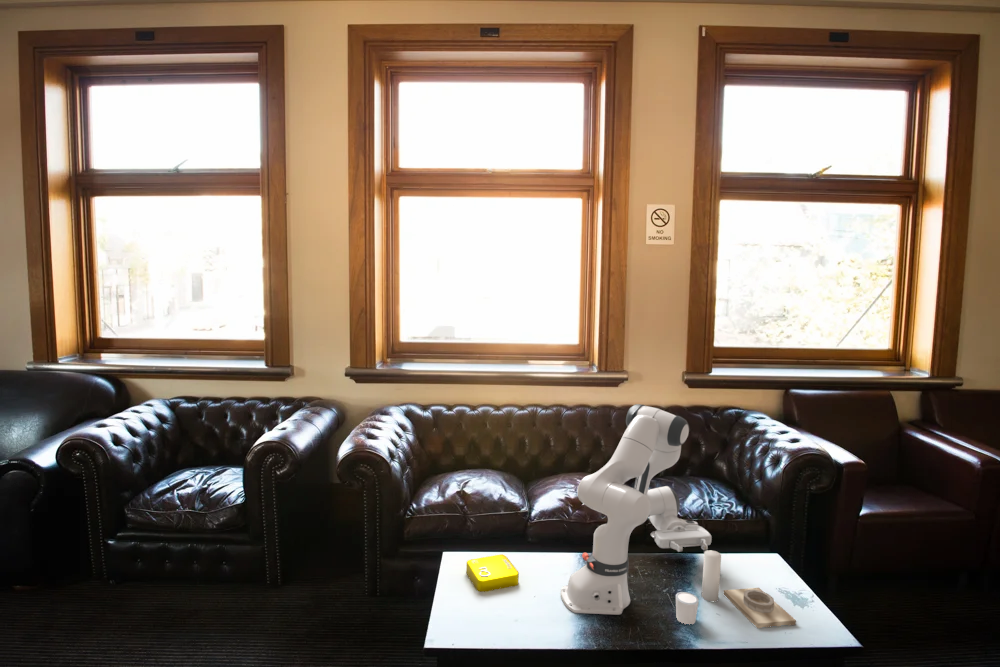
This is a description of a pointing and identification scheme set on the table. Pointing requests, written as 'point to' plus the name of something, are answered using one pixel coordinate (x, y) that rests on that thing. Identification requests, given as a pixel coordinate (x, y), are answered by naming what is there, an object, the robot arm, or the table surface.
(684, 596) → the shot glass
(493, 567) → the element tile
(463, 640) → the table surface
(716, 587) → the paper roll
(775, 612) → the roll holder
